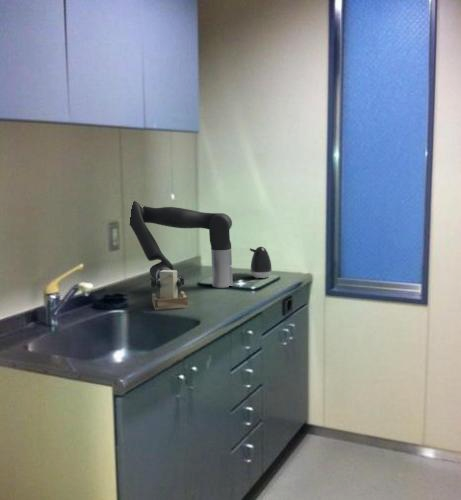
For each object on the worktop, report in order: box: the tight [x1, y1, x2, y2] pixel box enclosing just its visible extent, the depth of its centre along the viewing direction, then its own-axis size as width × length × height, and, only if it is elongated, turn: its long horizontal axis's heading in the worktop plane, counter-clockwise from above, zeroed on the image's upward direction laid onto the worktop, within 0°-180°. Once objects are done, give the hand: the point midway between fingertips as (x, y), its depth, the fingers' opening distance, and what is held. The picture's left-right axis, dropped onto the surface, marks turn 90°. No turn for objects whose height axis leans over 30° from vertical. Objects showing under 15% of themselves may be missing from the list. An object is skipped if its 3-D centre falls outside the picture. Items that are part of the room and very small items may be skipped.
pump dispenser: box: [249, 246, 273, 279], centre depth 307 cm, size 10×10×15 cm
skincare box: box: [159, 269, 179, 299], centre depth 257 cm, size 6×4×12 cm
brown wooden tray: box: [151, 290, 189, 311], centre depth 258 cm, size 13×13×4 cm
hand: (169, 285), depth 255 cm, fingers closed on skincare box, 7 cm apart
